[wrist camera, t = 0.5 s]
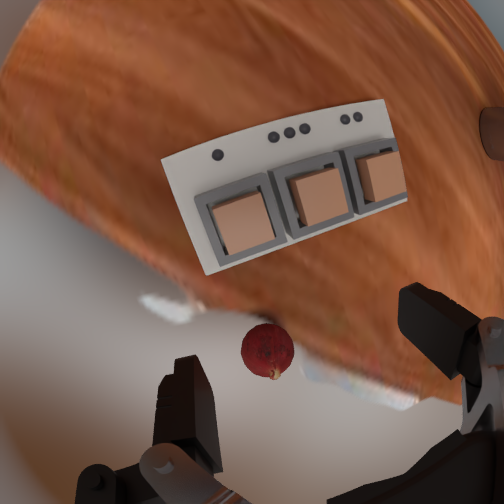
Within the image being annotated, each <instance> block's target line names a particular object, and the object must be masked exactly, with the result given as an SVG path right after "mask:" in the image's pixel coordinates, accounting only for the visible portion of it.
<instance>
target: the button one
mask: <svg viewBox="0 0 504 504" xmlns="http://www.w3.org/2000/svg"><path fill="white" fill-rule="evenodd" d="M212 211H213V213H214V216H215V219H216V221H217V224H218V227H219V229H220V232H221V235H222V237H223V240H224V243H225V245H226V248H227V251H228V253H229V256H230V255H233V254H235V253H238V252H241V251H243V250H246V249H249V248H252V247H254V246H257V245H260V244H262V243H265V242H268V241H271V240H273V239H275V236H274V233H273V230H272V227H271V224H270V221H269V217H268V214H267V211H266V208H265V205H264V202H263V199H262V196H261V193H260V192H258V191H253V192H250V193H248V194H245V195H242V196H239V197H236V198H233V199H231V200H228V201H225V202H222V203H220V204H217V205H214V206H212Z"/></svg>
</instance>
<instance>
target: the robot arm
mask: <svg viewBox="0 0 504 504" xmlns="http://www.w3.org/2000/svg"><path fill="white" fill-rule="evenodd" d="M480 132H481V138H482V142H483V145H484V148H485V150H486V152H487V154H488V156H489V157H490V158H491V159H493V160H499V161H504V107H495V108H485V109H484V110H483V111H482V114H481V118H480ZM398 326H399V329H400V331H401V333H402V334H403V335H404V336H405V337H406V338H407V339H408V340H409V341H411V342H412V343H413V344H414V345H415V346H416V347H417V348H418V349H419V350H420V351H421V352H422V353H423V354H424V355H425V356H426V357H427V358H428V359H429V360H430V361H432V362H433V363H434V364H435V365H436V366H437V367H438V368H439V369H440V370H441V371H442V372H443V373H444V374H445V375H446V376H447V377H448V378H449V379H450V380H452V379H453V378H455V377H456V376H457V375H459V374H462V375H463V377H462V380H461V387H462V406H463V422H462V426H461V430H460V431H459V430H458V429H457V430H456V431H455V432H453V433H452V434H450V435H449V436H448V437H446V438H445V439H444V440H442V441H441V442H439V443H438V444H436V445H435V446H433V447H432V448H431V449H430V450H429V451H428V452H427V453H426V454H425V455H424V456H423V457H422V458H421V459H420V460H419V461H418V462H417V463H416V464H415V465H414V466H413V467H411V468H410V469H409V470H408V471H407V472H406V473H404V474H403V475H400V476H396V477H393V478H389V479H385V480H382V481H378V482H374V483H370V484H365V485H363V486H360V487H358V488H356V489H353V490H351V491H349V492H346V493H344V494H341V495H338V496H336V497H333V498H330V499H327V504H504V320H503V319H501V318H498V317H487V318H484V319H483V320H481V319H480V318H479V317H477V316H476V315H474V314H473V313H471V312H470V311H468V310H467V309H465V308H464V307H462V306H461V305H459V304H457V303H456V302H455V301H453V300H452V299H451V300H450V298H449V297H447V296H446V295H444V294H442V293H441V292H438V291H434V290H431V289H428V288H426V287H425V286H423V285H422V284H420V283H418V282H415V283H413V284H410V285H408V286H406V287H404V288H401V289H400V291H399V305H398ZM157 398H158V400H157V403H156V408H157V409H156V413H155V423H154V433H153V434H154V435H153V444H152V447H150V448H149V449H147V450H146V451H145V452H144V454H143V455H142V457H141V459H140V462H139V463H137V464H135V465H132V466H129V467H126V468H123V469H120V470H116V471H113V470H112V469H110V468H109V467H108V466H105V465H102V464H94V465H91V466H88V467H87V468H85V469H84V470H83V471H82V472H81V474H80V476H79V478H78V483H77V490H76V497H75V504H252V503H250V502H249V501H247V500H246V499H245V498H243V497H242V496H240V495H239V494H237V493H236V492H234V491H232V490H229V489H228V488H226V487H225V486H224V485H222V484H221V483H220V482H219V481H217V480H216V479H215V478H214V473H219V472H223V468H222V461H221V453H220V446H219V438H218V430H217V421H216V412H215V402H214V396H213V391H212V388H211V386H210V383H209V381H208V379H207V377H206V374H205V372H204V370H203V368H202V366H201V363H200V361H199V359H198V357H197V356H196V355H191V356H187V357H182V358H178V359H175V363H174V374H170V375H165V377H164V378H163V380H162V381H161V383H160V385H159V387H158V395H157Z"/></svg>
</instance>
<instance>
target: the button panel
mask: <svg viewBox="0 0 504 504" xmlns="http://www.w3.org/2000/svg"><path fill="white" fill-rule="evenodd" d="M385 151H399V150H398V145H397V141H396V138H394V134H393V130H392V126H391V123H390V119H389V116H388V112H387V109H386V106H385V102H384V99H380V100H373V101H366V102H360V103H354V104H348V105H342V106H337V107H332V108H327V109H322V110H317V111H313V112H308V113H304V114H300V115H295V116H291V117H287V118H283V119H280V120H276V121H272V122H268V123H265V124H261V125H258V126H254V127H251V128H248V129H244V130H241V131H238V132H235V133H232V134H229V135H226V136H222V137H219V138H217V139H214V140H211V141H208V142H205V143H202V144H199V145H197V146H194V147H191V148H189V149H186V150H183V151H181V152H178V153H176V154H173V155H171V156H168V157H166V158H163V159H161V162H162V165H163V168H164V171H165V173H166V176H167V179H168V181H169V184H170V187H171V189H172V192H173V195H174V197H175V200H176V203H177V205H178V208H179V210H180V213H181V216H182V218H183V221H184V223H185V226H186V228H187V231H188V233H189V236H190V238H191V241H192V243H193V246H194V248H195V250H196V253H197V255H198V258H199V260H200V262H201V265H202V267H203V270H204V272H205V274H206V276H207V275H210V274H213V273H215V272H218V271H221V270H224V269H226V268H229V267H232V266H235V265H237V264H240V263H243V262H245V261H248V260H251V259H254V258H256V257H259V256H262V255H264V254H267V253H270V252H272V251H275V250H278V249H281V248H283V247H286V246H289V245H291V244H294V243H297V242H299V241H302V240H305V239H307V238H310V237H313V236H315V235H318V234H321V233H323V232H326V231H329V230H331V229H334V228H337V227H339V226H342V225H345V224H347V223H350V222H353V221H355V220H358V219H361V218H363V217H366V216H369V215H371V214H374V213H376V212H379V211H382V210H384V209H387V208H390V207H392V206H395V205H398V204H400V203H403V202H405V201H407V197H408V196H407V191H406V192H403V193H400V194H397V195H395V196H392V197H389V198H386V199H383V200H381V201H378V202H373V201H369V200H366V199H365V198H364V194H363V189H362V185H361V180H360V176H359V172H358V168H357V164H356V159H359V158H363V157H367V156H370V155H374V154H378V153H382V152H385ZM400 159H401V158H400ZM401 164H402V163H401ZM328 167H330V168H338V170H339V174H340V178H341V181H342V185H343V189H344V194H345V198H346V202H347V206H348V211H349V212H347V213H345V214H342V215H339V216H336V217H334V218H331V219H328V220H325V221H323V222H320V223H317V224H314V225H312V226H309V227H308V226H306V225H305V224H303V223H302V222H301V221H300V217H299V214H298V210H297V207H296V203H295V200H294V197H293V193H292V190H291V187H290V183H289V179H292V178H296V177H299V176H302V175H305V174H308V173H312V172H315V171H318V170H321V169H325V168H328ZM402 169H403V168H402ZM403 174H404V173H403ZM404 179H405V178H404ZM253 191H258V192H260V193H261V196H262V199H263V202H264V205H265V208H266V211H267V214H268V217H269V221H270V224H271V227H272V230H273V233H274V236H275V239H273V240H271V241H268V242H265V243H262V244H260V245H257V246H254V247H252V248H249V249H246V250H243V251H241V252H238V253H235V254H233V255H230V256H229V253H228V251H227V248H226V245H225V243H224V240H223V237H222V235H221V232H220V229H219V227H218V224H217V221H216V219H215V216H214V213H213V211H212V206H214V205H217V204H220V203H222V202H225V201H228V200H231V199H233V198H236V197H239V196H242V195H245V194H248V193H250V192H253Z"/></svg>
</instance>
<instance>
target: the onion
mask: <svg viewBox="0 0 504 504" xmlns="http://www.w3.org/2000/svg"><path fill="white" fill-rule="evenodd" d="M241 355H242V358H243V361H244V364H245V365H246V367H247V368H248V369H249V370H250V371H251V372H252V373H254V374H256V375H259V376H262V377H270V379H272V380H275V379H278V377H280V376H281V375H280V374H281V373H283V372H284V371H285V370H286V369H287V368H288V367H289V366H290V364H291V362H292V359H293V357H294V346H293V341H292V339H291V337H290V336H289V334H288V333H287V332H286V331H285V330H284V329H282V328H281V327H279V326H277V325H274V324H267V323H265V324H261V325H257V326H255V327H254V328H253V329H251V330H250V331H249V332H248V333H247V334H246V336H245V337H244V339H243V341H242V348H241Z"/></svg>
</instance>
